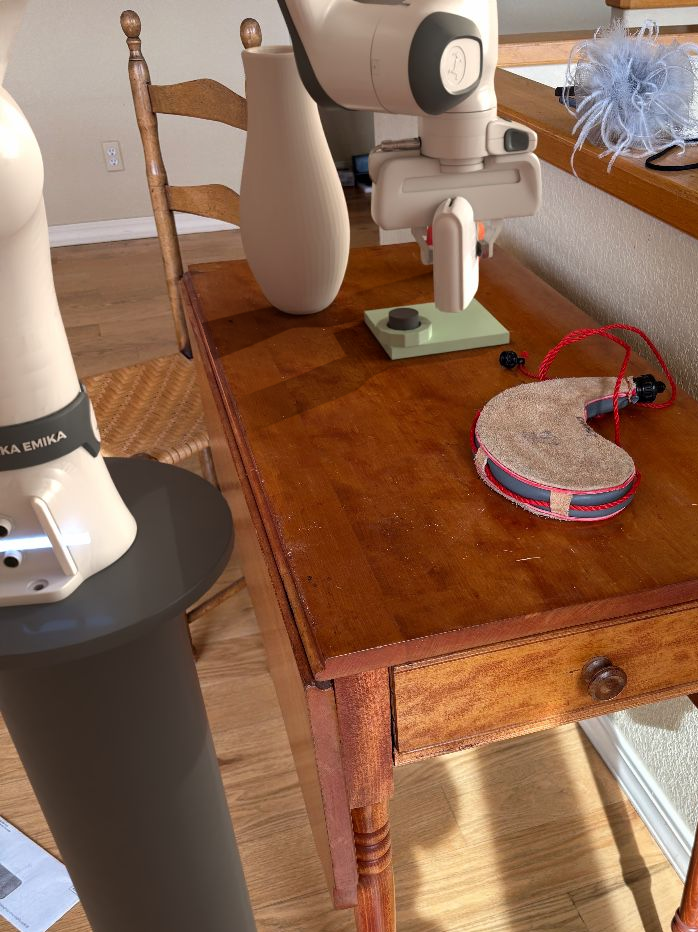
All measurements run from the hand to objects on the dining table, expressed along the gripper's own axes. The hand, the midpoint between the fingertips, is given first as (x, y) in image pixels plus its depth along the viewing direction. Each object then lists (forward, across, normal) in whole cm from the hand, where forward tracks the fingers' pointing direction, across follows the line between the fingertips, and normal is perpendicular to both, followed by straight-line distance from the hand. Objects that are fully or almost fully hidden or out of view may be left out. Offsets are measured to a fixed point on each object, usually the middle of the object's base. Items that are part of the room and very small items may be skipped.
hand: (457, 259), depth 113 cm
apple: (+9, +7, +21) cm, 24 cm away
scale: (+9, -3, 0) cm, 9 cm away
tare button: (+6, -8, -3) cm, 11 cm away
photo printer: (+5, 0, -1) cm, 5 cm away
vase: (+9, -17, +14) cm, 24 cm away
